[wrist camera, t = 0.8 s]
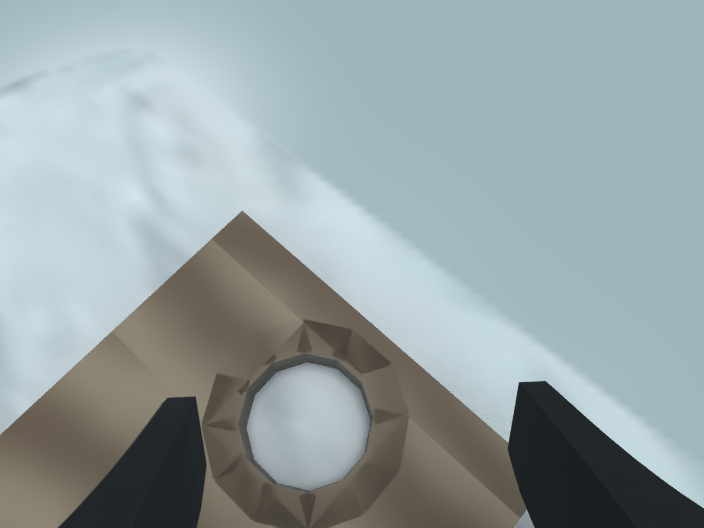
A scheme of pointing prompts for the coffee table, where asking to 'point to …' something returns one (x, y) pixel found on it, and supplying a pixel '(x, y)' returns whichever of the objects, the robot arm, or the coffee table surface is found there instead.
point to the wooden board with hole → (236, 400)
